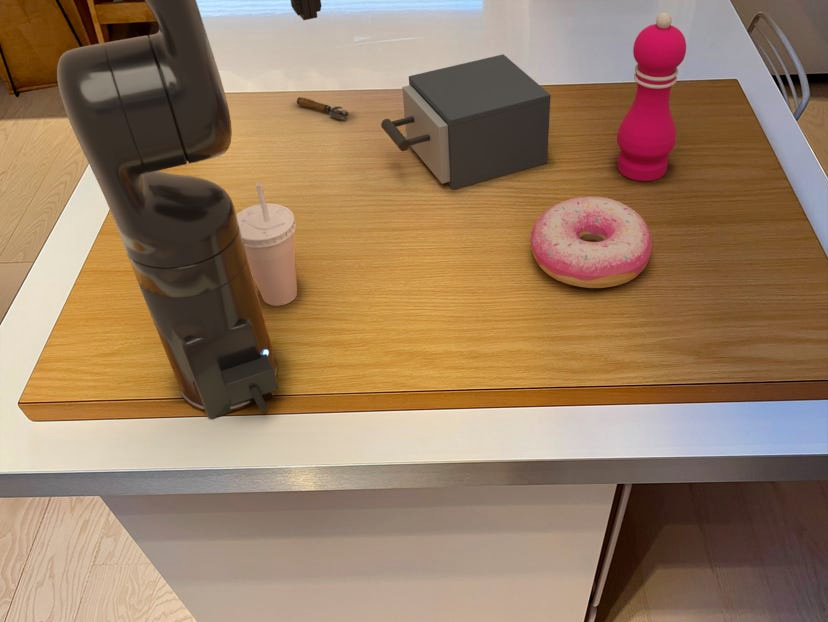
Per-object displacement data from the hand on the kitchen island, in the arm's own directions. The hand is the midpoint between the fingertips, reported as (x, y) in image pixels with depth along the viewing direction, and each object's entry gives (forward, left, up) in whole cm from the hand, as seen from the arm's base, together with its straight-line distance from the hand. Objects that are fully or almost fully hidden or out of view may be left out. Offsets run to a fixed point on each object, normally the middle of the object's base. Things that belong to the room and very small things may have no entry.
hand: (308, 16), depth 87 cm
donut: (-26, -21, -22) cm, 40 cm away
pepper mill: (-13, -37, -22) cm, 45 cm away
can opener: (+20, -5, -22) cm, 30 cm away
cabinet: (0, -20, -22) cm, 30 cm away
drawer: (0, -16, -21) cm, 27 cm away
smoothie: (-16, +12, -22) cm, 30 cm away
